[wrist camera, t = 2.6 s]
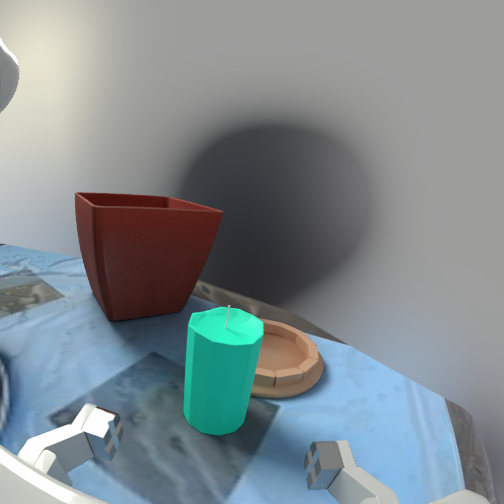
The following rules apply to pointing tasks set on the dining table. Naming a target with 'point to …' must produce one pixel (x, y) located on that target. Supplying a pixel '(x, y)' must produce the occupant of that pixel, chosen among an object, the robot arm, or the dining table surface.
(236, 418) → the candle
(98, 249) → the plant pot
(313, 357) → the saucer
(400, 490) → the dining table surface
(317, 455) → the robot arm
